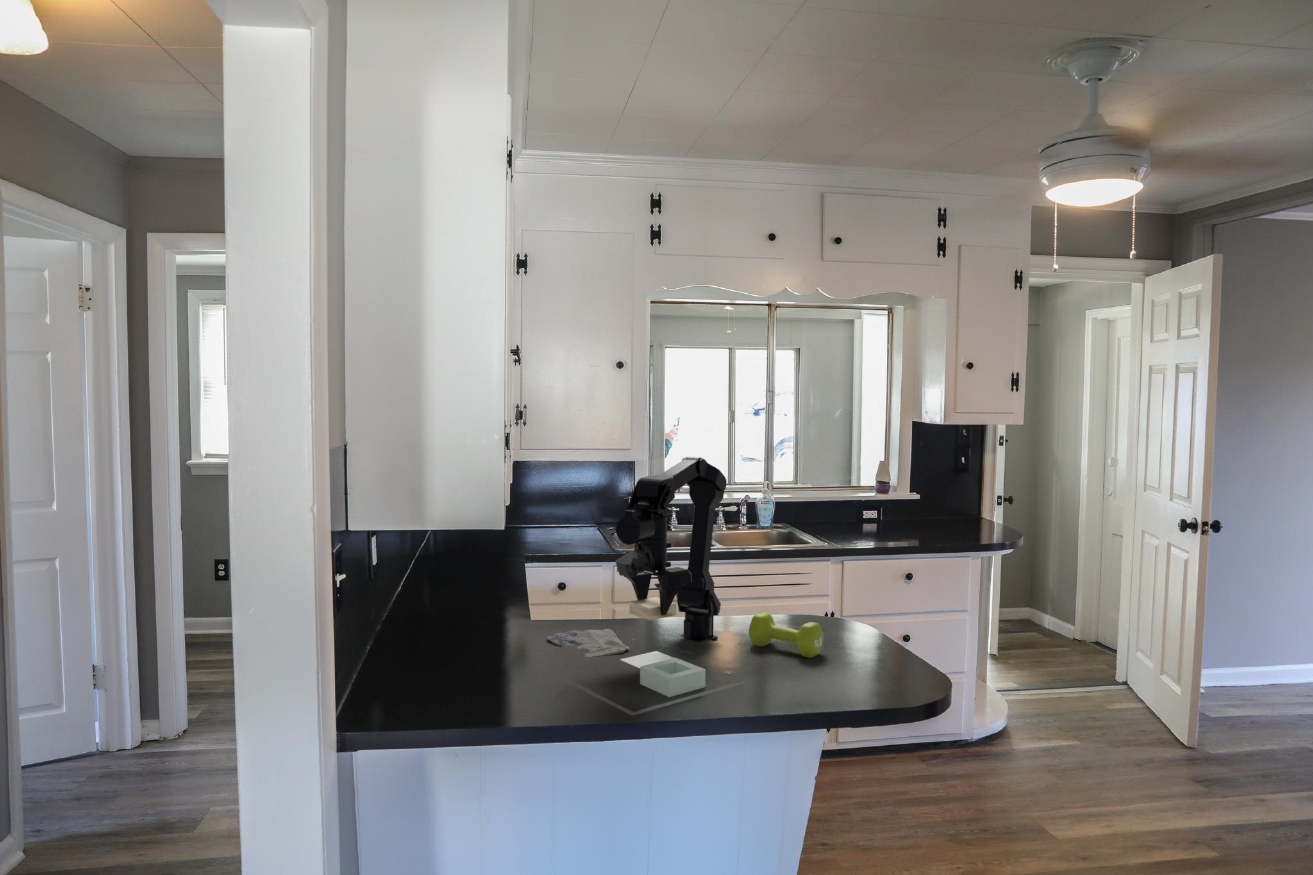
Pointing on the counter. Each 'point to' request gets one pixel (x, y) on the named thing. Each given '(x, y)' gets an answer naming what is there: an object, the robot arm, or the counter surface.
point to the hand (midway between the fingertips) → (652, 611)
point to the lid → (650, 609)
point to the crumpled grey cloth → (591, 641)
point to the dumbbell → (786, 634)
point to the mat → (646, 659)
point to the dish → (672, 677)
